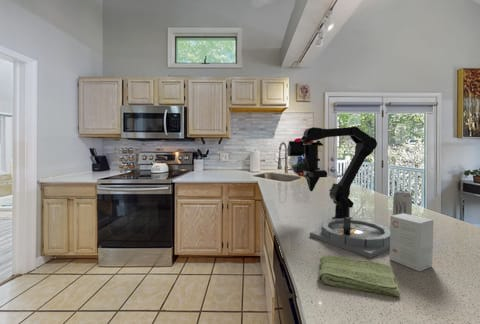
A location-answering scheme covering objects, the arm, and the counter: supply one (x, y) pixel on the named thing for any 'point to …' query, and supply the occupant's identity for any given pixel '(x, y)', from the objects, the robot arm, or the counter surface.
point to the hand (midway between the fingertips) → (311, 191)
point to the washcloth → (358, 275)
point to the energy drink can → (402, 203)
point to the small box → (411, 241)
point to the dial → (355, 229)
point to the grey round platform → (355, 238)
